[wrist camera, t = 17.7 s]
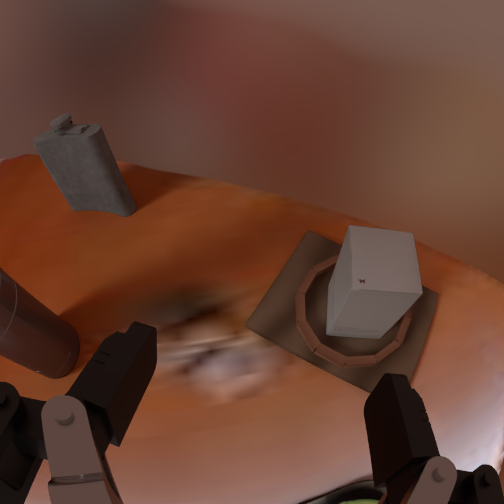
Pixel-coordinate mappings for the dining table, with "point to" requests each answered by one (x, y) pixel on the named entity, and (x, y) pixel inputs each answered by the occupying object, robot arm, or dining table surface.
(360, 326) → the supplement box
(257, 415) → the dining table surface
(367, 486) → the salad plate
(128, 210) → the hip flask
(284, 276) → the ring holder
